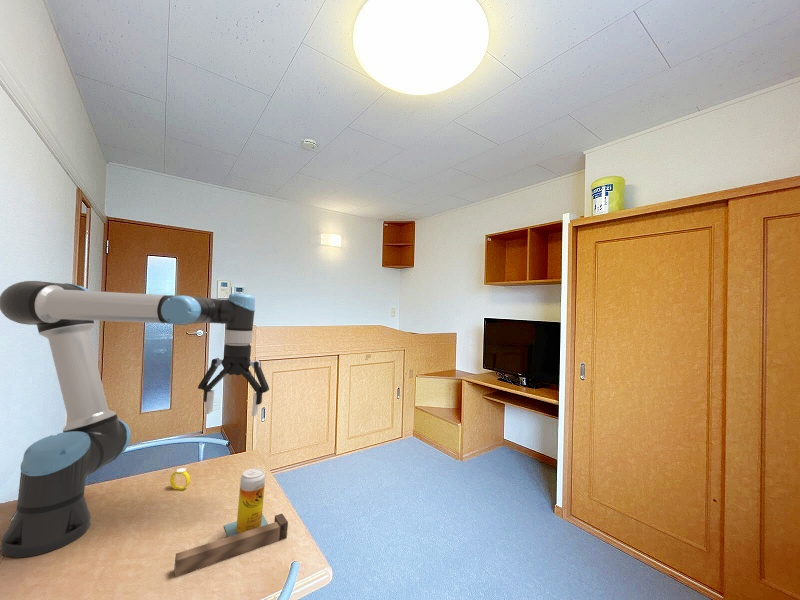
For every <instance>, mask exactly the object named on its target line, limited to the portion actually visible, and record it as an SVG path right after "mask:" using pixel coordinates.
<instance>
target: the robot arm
mask: <svg viewBox="0 0 800 600" xmlns="http://www.w3.org/2000/svg"><path fill="white" fill-rule="evenodd" d="M255 303H256V298H255V296H254V295H252V294H245V293H230V294H229V295H228V298H226V299H222V298H220V299H218V298H211V297H210V298H208V297H201V296H199V297H198V296H189V295H184V294H183V295H181V294H180V295H179V294H177V295H172V294H171V295H169V294H168V295H167V294H152V293H134V292H133V293H132V292H131V293H130V292H129V293H128V292H117V291H116V292H114V291H113V292H112V291H98V290H97V291H96V290H94V291H93V290H90V289H89V288H87V287H84V286H81V285H76V284H73V283H66V282H65V283H62V282H61V283H60V282H48V281H41V280H39V281H38V280H25V281H19V282H18V283H17V282H16V283H14V284H11V285H10V286H8V287H6V289H4V290H3V291H2V292H1V294H0V312H1V313H2V314H3V316H4V317H6V318H7V319H9V320H10V321H13V322H14V323H17V324H20V325H28V326H29V325H30V326H35V325H36V327H37V331H38V335H39V336H42V337H44V338H45V339H48V344H49V346H50V351H51V354H52V359H53V364H54V367H55V371H56V374H57V375H56V376H57V379H58V383H59V388H60V392H61V396H62V400H63V404H64V408H65V411H66V415H67V420H68V422H67V423H66V425H65V426H64V427H63V429H62V432H59V433H57V434H54V435H53V434H52V435H51V434H50V435H49V436H46V437H44V438H41V439H39V440H37V441H35V442H33V443H32V444H31V445H29V446H28V447H27V448H26V450H25V451H24V453H23V457H22V461H21V462H20V463H21V464H20V476H19V487H18V496H17V506H16V511H15V514H14V516H13V518H12V520H11V522H10V523H9V525H8V528H7V530H6V531H5V533H4V535H3V536H2V540H1V545H0V553H1V554H2V556H5V557H7V558H27V557H33V556H34V557H35V556H38V555H42V554H45V553H48V552H51V551H55V550H56V549H60V548H62V547H64V546H67V545H69V544H70V543H73V542H74V541H75V540H77V539H79V538H80V537H82V536H83V535H84V534H85V533H86V532H87V531H88V529H89V528H90V525H91V512H90V510H89V506H88V504H87V501H86V499H85V489H86V481H87V477H88V476H90V475H92V474H93V473H95V472H96V471H98V470H99V469H101V468H103V467H105V466H106V465H108V464H110V463H111V462H113V461H115V460H116V459H117V458H118V457H119V456H120V455H122V454H123V453H125V451H126V450H127V449H128V447H129V445H130V442H131V439H132V438H131V437H132V433H131V432H132V431H131V429H130V427H129V425H128V424H127V423H126V422H124V421H123V420H122V419H119V417H118V414H117V412H116V411H113V410H111V409H109V406H108V403H107V397H106V393H105V391H104V386H103V381H102V379H101V378H102V377H101V374H100V371H99V370H100V369H99V365H98V361H97V357H96V353H95V350H94V345H93V341H92V338H91V333H90V331H91V330H92V328H94V326H95V321H97V322H98V321H99V322H101V321H102V322H122V323H123V322H126V323H146V324H147V323H151V324H166V325H167V324H170V325H175V326H187V325H192V324H194V325H196V324H221V325H224V324H225V325H226V327H225V337H224V343H225V344H224V346H223V357H222V359H220V358H219V357H216V358H213V359H211V363H210V366H209V368H208V370H207V372H206V373H205V374H204V376H203V378H202V379H201V381H200V383H198V386H197V389H199V390H202V391H203V393H204V394H203V402H204V403H205V404H206V405H205V411H204V412H205V415H209V414H210V413H212V412H213V407H214V396H215V389H213V388H215V386H217V384H218V383H219V382H221V380H222V379H224V377H225V376H226V375H229V376H234V375H235V376H242V377H243V378H245V380H246V381H247V382H248V384H249V386H251V388H252V389H253V391H254V392H255V393H254V394H253V396H252V397H253V400H252V410H251V417H256V416H257V415H258V412H259V411H258V410H259V405H261V404H262V402H263V394H264V393H267V392H268V391H269V390H270V387H269V384H268V382H267V380H266V379H267V378H266V377H265V374H264V372H263V370H262V366H261V365H262V363H261V360H257V361H255V360H254V361H252V360H251V354H252V353H251V352H252V345H251V344H252V340H253V332H254V331H253V328H254V327H253V326H254V321H255V320H254V319H255V312H256V309H255V306H256V304H255ZM219 366H222V368H223V369H222V370H221V371H220V372H219V373H218V374H217V375H216V376H215V377H214V378H213V376H214V374H215V372H216V371H217V369H218V367H219ZM250 367H251V368H252V369H253V370H254V373H255V376H256V378H257V379H256V378H255V377H254V375H253V373H252V372H251V370H250ZM212 378H213V379H212ZM211 379H212V380H211Z"/></svg>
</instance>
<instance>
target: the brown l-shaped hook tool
mask: <svg viewBox="0 0 800 600" xmlns="http://www.w3.org/2000/svg"><path fill="white" fill-rule="evenodd" d="M273 520H274V522H271V523H268V525H265V526H261V527H258V528H255V529H252V530H249V531H246V532H242V533H239V534H236V535H233V536H230V537H228V536H227V537H224V538H221V539H220V538H219V539H217V540H213V541H211V542H208V543H205V544H203V545H199V546H195V547H193V548H189V549H187V550H183V551H179V552H177V553H175V558H174V569H173V571H174V572H173V573H174V577H175V578H176V577H177V578H178V577H179V576H182V575H186V574H189V573H191V572H193V571H194V572H195V571H196V569H197V570H200V569H202V567H203V568H205V567H208V566H211V565H214V564H215V563H219V562H222V561H225V560H228V559H230V558H233V557H236V556H238V555H242V554H245V553H248V552H250V551H253V550H257V549H259V548H262V547H265V546H267V545H270V544H273V543H276V542H279V541H281V540H284V539H287V537H288V529H289V527H288V526H289V521H288V520H287V518H286V517H285V516H284V514H283V513H279V514H276V515H274V519H273ZM207 565H208V566H207ZM199 568H200V569H199Z"/></svg>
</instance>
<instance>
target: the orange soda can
mask: <svg viewBox="0 0 800 600" xmlns="http://www.w3.org/2000/svg"><path fill="white" fill-rule="evenodd" d="M239 483H240V484H239V496H238V505H237V518H236V521H237V527H236V530H237V532H238V533H242V532H246V531H249V530H252V529H255V528H258V527H261V521H262V514H263V507H264V496H265V484H266V473H265V470H264V469H263V468H258V467H256V468H255V467H253V468H250V469H245V470H244V471H243V472H242V475H241V477H240V482H239Z"/></svg>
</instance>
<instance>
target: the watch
mask: <svg viewBox="0 0 800 600" xmlns="http://www.w3.org/2000/svg"><path fill="white" fill-rule="evenodd" d="M176 475H183V476H184V478H185V485H184V486H180V485H179V486H178V485H177V484H176V481H175V476H176ZM169 480H170V481H169V482H170V486H171V487H172V488H173V489H174V490H180V491H183V490H185V489H186V488H187V487H188V486H189V485H190V483H191V476H190V474H189V473H188V472H187V468H186V467H180V468H178V469H176V470H175V471H174V472H173V473H172V474H171V475H170V478H169Z"/></svg>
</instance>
